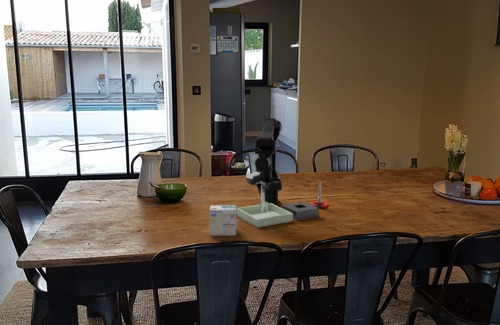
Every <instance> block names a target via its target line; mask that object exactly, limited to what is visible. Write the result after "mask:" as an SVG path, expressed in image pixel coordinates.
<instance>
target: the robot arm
mask: <svg viewBox="0 0 500 325" xmlns="http://www.w3.org/2000/svg"><path fill="white" fill-rule="evenodd" d="M282 127H283V125H282V121H281V120H278V119H277V118H275V117H267V118H265V119H264V120H263V121H262V133H260V134H259V135H258V136H257V139H256V140H255V149H254V154H255V155H258V156H257V158H256V160H255V162H254V166H255V171H254V172H251V173H249V174H248V175H246V176H245V179H246V182H247V185H248V184H249V185H250V186H255V187H256V188H257V191H258V194H259V197H260V199H261V185H262V184H265V187H262V189H263V190H264V194H265V202H268V203H272V204H276V203H281V200H279V192H280V191H282V189H283V184H282V183H283V182H282V180H281V178H280V174H279V172H278V170H277V143H278V139H279V136H280V135H281V132H282V129H283V128H282Z"/></svg>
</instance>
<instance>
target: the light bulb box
mask: <svg viewBox="0 0 500 325" xmlns="http://www.w3.org/2000/svg"><path fill="white" fill-rule="evenodd" d="M236 208H237V205H236V204H235V205H233V204H232V205H225V204H224V205H212V204H211V205H210V207H209V236H237V230H238V229H237V228H238V226H237V225H238V224H237V220H238V219H237V218H238V217H237V215H236Z"/></svg>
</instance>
